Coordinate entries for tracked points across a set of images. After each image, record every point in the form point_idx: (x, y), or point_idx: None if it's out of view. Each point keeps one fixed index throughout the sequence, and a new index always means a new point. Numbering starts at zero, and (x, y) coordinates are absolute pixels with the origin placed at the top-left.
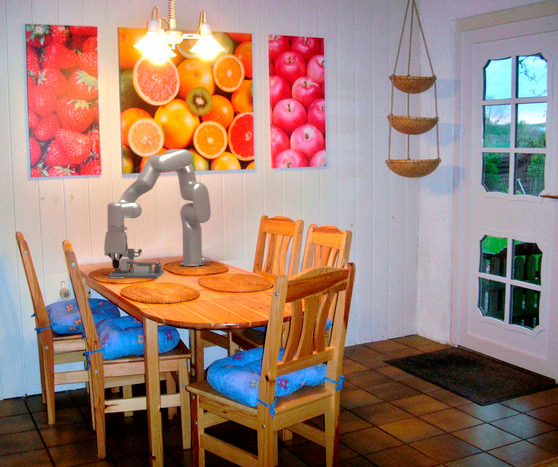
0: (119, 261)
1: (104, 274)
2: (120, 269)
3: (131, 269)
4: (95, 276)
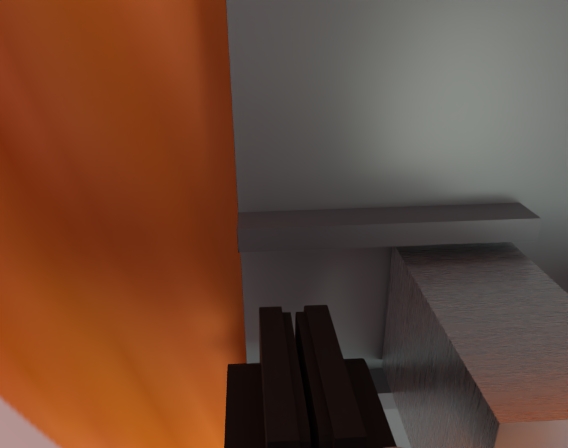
0: (390, 430)
1: (63, 227)
2: (347, 245)
3: (528, 20)
4: (12, 378)
